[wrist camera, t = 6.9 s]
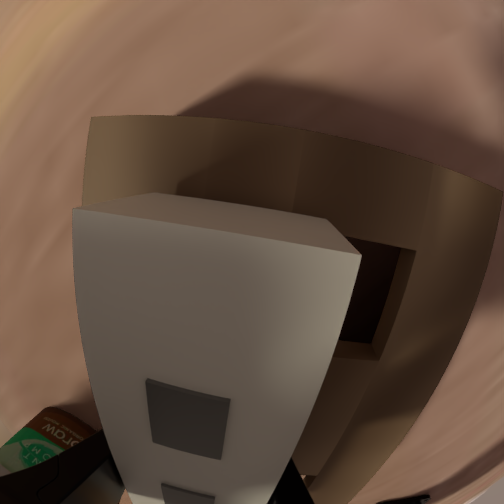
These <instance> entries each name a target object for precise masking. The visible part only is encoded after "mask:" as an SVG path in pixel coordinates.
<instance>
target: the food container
mask: <svg viewBox="0 0 504 504" xmlns="http://www.w3.org/2000/svg"><path fill="white" fill-rule="evenodd" d="M94 433H96V431H95V430H94V429H93V428H91V427H90V426H89V425H87V424H86V423H84V422H83V421H81V420H80V419H78V418H76V417H75V416H73V415H71V414H69V413H67V412H65V411H63V410H60V409H58V408H53V407H47V408H44V409H43V410H42V411H41V412H40V413H39V414H38V415H36V416H35V417H34V418H33V419H32V420H31V421H30V422H29V423H27V424H26V425H25V426H24V427H23V428H22V429H21V430H20V431H19V432H17V433H16V434H15V435H14V436H13V437H12V438H11V439H10V440H9V441H8V442H6V443H5V444H4V445H3V446H2V447H1V448H0V476H3V475H7V474H10V473H13V472H17V471H20V470H23V469H26V468H28V467H31V466H34V465H36V464H39V463H41V462H43V461H45V460H47V459H49V458H51V457H53V456H55V455H57V454H58V455H59V453H61V452H63V451H64V450H66V449H68V448H70V447H72V446H73V445H75V444H77V443H79V442H81V441H82V440H84V439H86V438H88V437H89V436H91V435H93V434H94ZM120 499H121V498H120ZM119 502H120V500H119ZM119 502H118V504H119Z"/></svg>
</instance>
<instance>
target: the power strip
mask: <svg viewBox="0 0 504 504" xmlns="http://www.w3.org/2000/svg"><path fill="white" fill-rule="evenodd" d="M72 239H73V267H74V282H75V293H76V303H77V312H78V319H79V326H80V333H81V339H82V345H83V351H84V356H85V361H86V366H87V371H88V375H89V380H90V384H91V388H92V392H93V396H94V400H95V403H96V407H97V411H98V414H99V417H100V421H101V424H102V427H103V430H104V433H105V436H106V439H107V442H108V445H109V448H110V451H111V453H112V456H113V459H114V461H115V464H116V466H117V469H118V471H119V474H120V476H121V479H122V481H123V483H124V485H125V488H126V490H127V492H128V494H129V496H130V499H131V501H132V503H133V504H267V502H268V500H269V499H270V497H271V495H272V493H273V491H274V489H275V488H276V486H277V484H278V482H279V480H280V478H281V476H282V474H283V472H284V470H285V468H286V466H287V464H288V462H289V460H290V458H291V456H292V454H293V452H294V449H295V447H296V445H297V443H298V441H299V439H300V436H301V434H302V432H303V430H304V427H305V425H306V423H307V420H308V418H309V416H310V413H311V411H312V408H313V406H314V403H315V401H316V399H317V396H318V393H319V391H320V388H321V386H322V383H323V380H324V378H325V375H326V372H327V370H328V367H329V364H330V361H331V358H332V355H333V353H334V350H335V347H336V344H337V341H338V338H339V335H340V331H341V328H342V325H343V322H344V319H345V315H346V312H347V309H348V305H349V302H350V298H351V295H352V291H353V288H354V284H355V280H356V277H357V273H358V269H359V265H360V261H361V257H362V255H361V254H360V253H359V252H358V251H357V250H356V249H355V248H354V246H353V245H352V244H351V243H350V242H349V241H348V240H347V239H346V238H345V237H344V236H343V235H342V234H341V233H340V232H339V231H338V230H337V229H336V228H335V227H334V226H333V225H332V224H331V223H330V222H329V221H328V220H327V219H323V218H318V217H313V216H307V215H302V214H296V213H290V212H285V211H279V210H273V209H267V208H261V207H254V206H248V205H242V204H235V203H229V202H222V201H215V200H208V199H201V198H193V197H186V196H178V195H170V194H162V193H149V194H143V195H137V196H131V197H126V198H121V199H115V200H110V201H105V202H100V203H95V204H90V205H86V206H81V207H77V208H73V218H72Z"/></svg>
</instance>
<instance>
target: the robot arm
mask: <svg viewBox="0 0 504 504" xmlns="http://www.w3.org/2000/svg"><path fill="white" fill-rule="evenodd" d="M124 490H125V485H124V483H123V481H122V479H121V476H120V474H119V471H118V469H117V466H116V464H115V461H114V459H113V456H112V453H111V451H110V448H109V445H108V442H107V439H106V436H105V433H104V430H103V429H101V430H100V431H98V432H96V433H94V434H93V435H91V436H89V437H88V438H86V439H84V440H82V441H81V442H79V443H77V444H75V445H73V446H72V447H70V448H68V449H66V450H64V451H63V452H61V453H59V455H58V454H57V455H55V456H53V457H51V458H49V459H47V460H45V461H43V462H41V463H39V464H36V465H34V466H31V467H28V468H26V469H23V470H20V471H17V472H13V473H10V474H7V475H3V476H0V504H118V502H119V500H120V498H121V496H122V494H123V492H124ZM430 499H431V498H430V495H426V496H422V497H417V498H412V499H407V500H402V501H396V502H390V503H383V504H425V503H426V502H427V501H428V500H430ZM267 504H315V503H314V501H313V499H312V497H311V495H310V493H309V491H308V489H307V487H306V485H305V483H304V481H303V479H302V477H301V475H300V473H299V471H298V469H297V467H296V465H295V463H294V461H293V459H292V457H291V458H290V460H289V462H288V464H287V466H286V468H285V470H284V472H283V474H282V476H281V478H280V480H279V482H278V484H277V486H276V488H275V489H274V491H273V493H272V495H271V497H270V499H269V500H268V502H267Z"/></svg>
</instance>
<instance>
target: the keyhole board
mask: <svg viewBox="0 0 504 504" xmlns="http://www.w3.org/2000/svg"><path fill="white" fill-rule="evenodd" d="M149 193H162V194H170V195H178V196H186V197H193V198H201V199H208V200H215V201H222V202H229V203H235V204H242V205H248V206H254V207H261V208H267V209H273V210H279V211H285V212H290V213H296V214H302V215H307V216H313V217H318V218H323V219H327V220H328V221H329V222H330V223H331V224H332V225H333V226H334V227H335V228H336V229H337V230H338V231H339V232H340V233H341V234H342V235H343V236H346V237H351V238H357V239H362V240H367V241H372V242H377V243H382V244H387V245H392V246H397V247H401V251H400V255H399V258H398V262H397V266H396V269H395V273H394V277H393V280H392V283H391V287H390V290H389V293H388V296H387V300H386V303H385V306H384V309H383V312H382V315H381V318H380V321H379V323H378V326H377V329H376V332H375V335H374V337H373V340H372V343H371V344H368V343H358V342H349V341H340V340H338V341H337V344H336V347H335V350H334V353H333V355H332V358H331V361H330V364H329V367H328V370H327V372H326V375H325V378H324V380H323V383H322V386H321V388H320V391H319V393H318V396H317V399H316V401H315V403H314V406H313V408H312V411H311V413H310V416H309V418H308V420H307V423H306V425H305V427H304V430H303V432H302V434H301V436H300V439H299V441H298V443H297V445H296V447H295V449H294V452H293V454H292V456H291V457H292V459H293V461H294V463H295V465H296V467H297V469H298V471H299V473H300V475H306V476H305V478H304V479H303V481H304V483H305V485H306V487H307V489H308V491H309V493H310V495H311V497H312V499H313V501H314V503H315V504H347V503H348V502H349V501H350V500H351V499H352V498H353V497H354V496H355V495H356V494H357V493H358V492H359V491H360V490H361V489H362V488H363V487H364V486H365V485H366V484H367V483H368V481H369V480H370V479H371V478H372V477H373V476H374V475H375V473H376V472H377V471H378V470H379V469H380V468H381V466H382V465H383V464H384V463H385V462H386V460H387V459H388V458H389V457H390V455H391V454H392V453H393V451H394V450H395V449H396V448H397V446H398V445H399V444H400V442H401V441H402V439H403V438H404V437H405V435H406V434H407V432H408V431H409V430H410V428H411V427H412V425H413V424H414V422H415V421H416V419H417V418H418V416H419V415H420V413H421V412H422V410H423V408H424V407H425V405H426V404H427V402H428V400H429V399H430V397H431V395H432V394H433V392H434V390H435V388H436V387H437V385H438V383H439V381H440V380H441V378H442V376H443V374H444V372H445V370H446V368H447V366H448V364H449V362H450V360H451V358H452V356H453V354H454V352H455V350H456V348H457V346H458V344H459V342H460V339H461V337H462V335H463V332H464V330H465V328H466V325H467V323H468V321H469V318H470V316H471V313H472V310H473V308H474V305H475V302H476V300H477V297H478V294H479V291H480V288H481V285H482V282H483V279H484V276H485V272H486V269H487V266H488V262H489V259H490V255H491V251H492V247H493V243H494V239H495V234H496V230H497V225H498V220H499V215H500V209H501V204H502V197H503V191H500V190H498V189H496V188H494V187H492V186H489V185H487V184H485V183H483V182H480V181H478V180H475V179H473V178H471V177H468V176H466V175H463V174H461V173H458V172H456V171H453V170H450V169H448V168H445V167H442V166H439V165H436V164H434V163H431V162H428V161H425V160H422V159H419V158H416V157H413V156H409V155H406V154H403V153H400V152H396V151H393V150H389V149H386V148H382V147H379V146H375V145H371V144H367V143H363V142H359V141H355V140H351V139H347V138H342V137H338V136H333V135H329V134H324V133H319V132H314V131H308V130H303V129H297V128H291V127H285V126H279V125H272V124H265V123H257V122H249V121H240V120H231V119H220V118H207V117H191V116H165V115H125V116H100V117H91V121H90V127H89V134H88V141H87V149H86V157H85V167H84V178H83V193H82V206H86V205H90V204H95V203H100V202H105V201H110V200H115V199H121V198H126V197H131V196H137V195H143V194H149Z"/></svg>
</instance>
